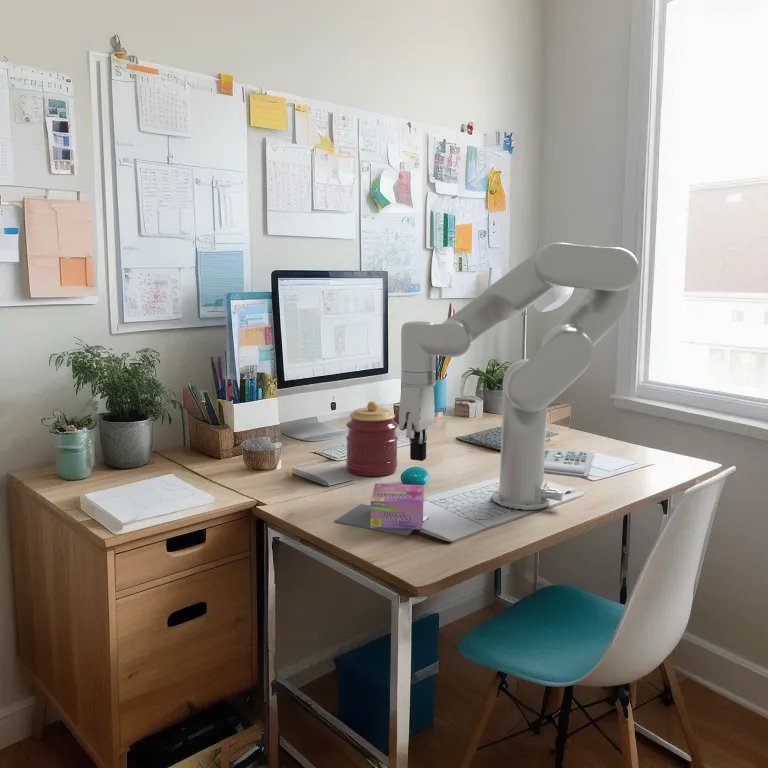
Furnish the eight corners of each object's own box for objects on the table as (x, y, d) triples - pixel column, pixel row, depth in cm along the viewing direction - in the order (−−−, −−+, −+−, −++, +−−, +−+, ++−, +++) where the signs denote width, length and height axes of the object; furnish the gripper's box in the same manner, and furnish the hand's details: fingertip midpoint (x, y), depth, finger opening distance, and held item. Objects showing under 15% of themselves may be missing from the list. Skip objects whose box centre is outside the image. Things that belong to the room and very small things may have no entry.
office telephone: (589, 470, 179) (508, 461, 186) (588, 480, 180) (507, 471, 186) (595, 447, 201) (522, 440, 207) (594, 456, 201) (521, 449, 208)
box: (424, 484, 153) (422, 503, 141) (423, 510, 154) (422, 530, 142) (375, 482, 154) (369, 500, 142) (374, 508, 155) (369, 528, 143)
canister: (346, 477, 177) (346, 406, 174) (345, 462, 190) (345, 396, 187) (399, 477, 178) (400, 406, 175) (395, 462, 190) (396, 396, 187)
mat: (429, 517, 150) (429, 516, 150) (406, 535, 140) (406, 534, 140) (360, 505, 157) (361, 503, 157) (334, 522, 147) (334, 520, 147)
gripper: (416, 372, 167) (415, 449, 170) (388, 382, 154) (388, 466, 157) (446, 374, 164) (445, 453, 167) (420, 384, 151) (420, 470, 154)
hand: (418, 459), depth 162 cm, fingers closed
